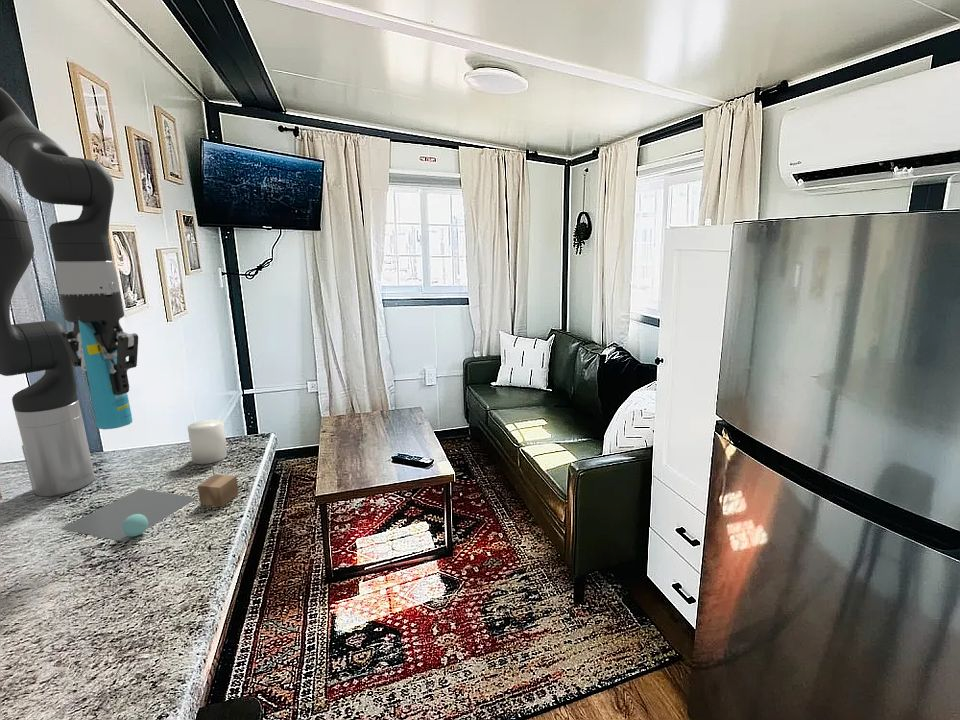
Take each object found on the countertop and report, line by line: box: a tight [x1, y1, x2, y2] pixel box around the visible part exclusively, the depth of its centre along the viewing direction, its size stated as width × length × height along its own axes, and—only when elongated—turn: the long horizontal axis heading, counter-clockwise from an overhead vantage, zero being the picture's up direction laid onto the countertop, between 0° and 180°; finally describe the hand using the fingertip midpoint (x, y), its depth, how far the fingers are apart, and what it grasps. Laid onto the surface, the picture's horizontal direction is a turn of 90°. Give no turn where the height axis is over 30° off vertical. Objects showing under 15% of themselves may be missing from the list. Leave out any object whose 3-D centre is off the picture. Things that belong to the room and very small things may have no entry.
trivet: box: [61, 488, 198, 543], centre depth 83 cm, size 14×14×1 cm
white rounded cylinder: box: [187, 419, 228, 465], centre depth 105 cm, size 7×7×8 cm
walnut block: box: [197, 474, 240, 507], centre depth 87 cm, size 4×4×4 cm
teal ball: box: [122, 514, 148, 538], centre depth 76 cm, size 4×4×4 cm
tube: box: [78, 320, 133, 430], centre depth 77 cm, size 7×5×19 cm, turn 13°
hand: (110, 392), depth 78 cm, fingers closed on tube, 4 cm apart
